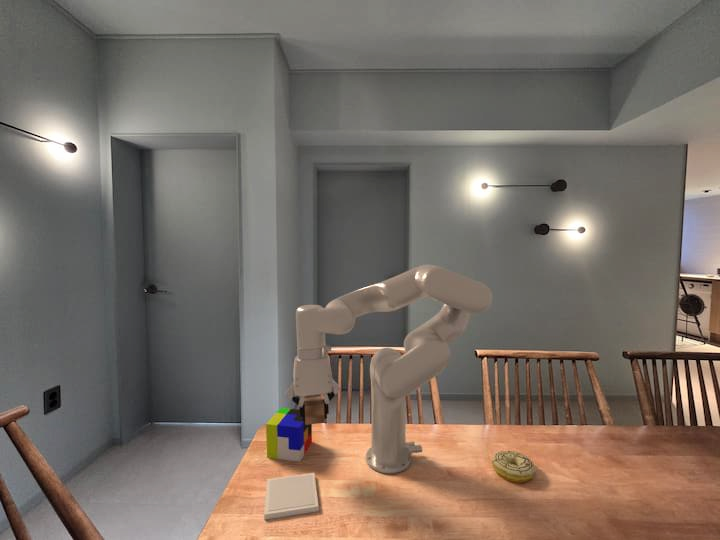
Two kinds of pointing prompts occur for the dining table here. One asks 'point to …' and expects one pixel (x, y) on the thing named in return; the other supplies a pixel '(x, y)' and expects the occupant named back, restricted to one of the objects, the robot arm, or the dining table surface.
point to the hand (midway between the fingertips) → (314, 417)
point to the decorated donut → (513, 466)
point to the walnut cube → (314, 410)
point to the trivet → (290, 496)
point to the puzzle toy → (288, 435)
